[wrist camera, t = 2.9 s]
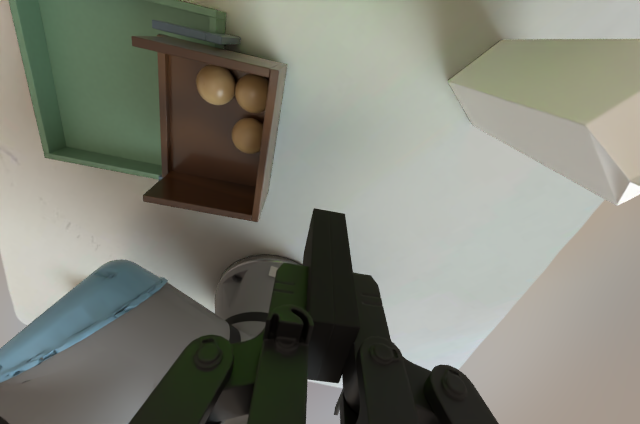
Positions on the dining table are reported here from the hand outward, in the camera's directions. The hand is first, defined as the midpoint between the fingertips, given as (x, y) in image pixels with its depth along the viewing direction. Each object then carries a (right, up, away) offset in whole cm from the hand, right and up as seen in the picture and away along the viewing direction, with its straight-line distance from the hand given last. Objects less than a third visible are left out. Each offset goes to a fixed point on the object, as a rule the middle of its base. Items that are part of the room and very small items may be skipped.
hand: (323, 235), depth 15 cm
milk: (+17, +14, +17) cm, 28 cm away
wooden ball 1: (-8, +11, +9) cm, 17 cm away
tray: (-19, +14, +17) cm, 29 cm away
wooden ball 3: (-6, +8, +11) cm, 15 cm away
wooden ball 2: (-5, +11, +10) cm, 15 cm away
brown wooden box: (-9, +9, +13) cm, 18 cm away
